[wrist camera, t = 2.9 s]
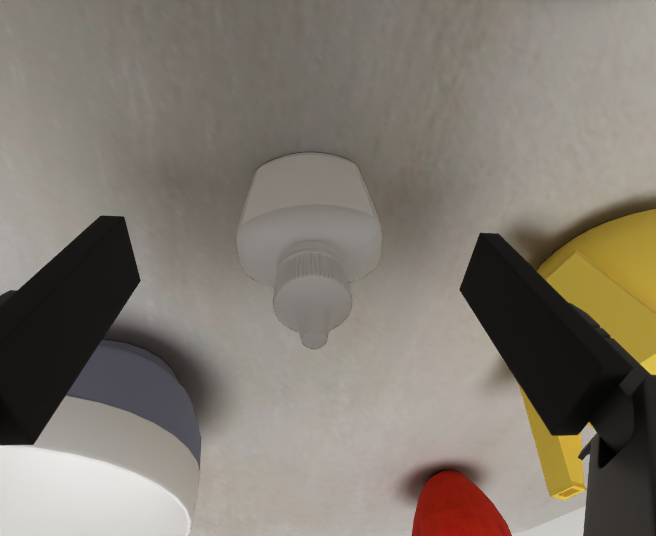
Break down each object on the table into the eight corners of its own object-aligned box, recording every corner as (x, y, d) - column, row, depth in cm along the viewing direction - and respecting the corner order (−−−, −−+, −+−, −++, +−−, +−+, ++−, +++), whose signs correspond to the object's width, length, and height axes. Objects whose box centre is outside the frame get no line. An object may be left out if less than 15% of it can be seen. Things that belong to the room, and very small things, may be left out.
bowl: (-17, 276, 21) (-203, 419, 13) (242, 331, 25) (215, 467, 17) (10, 422, 29) (-96, 566, 22) (203, 447, 33) (173, 576, 25)
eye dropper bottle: (275, 121, 18) (241, 237, 8) (370, 169, 19) (445, 315, 9) (245, 195, 20) (189, 363, 10) (334, 232, 21) (363, 408, 11)
